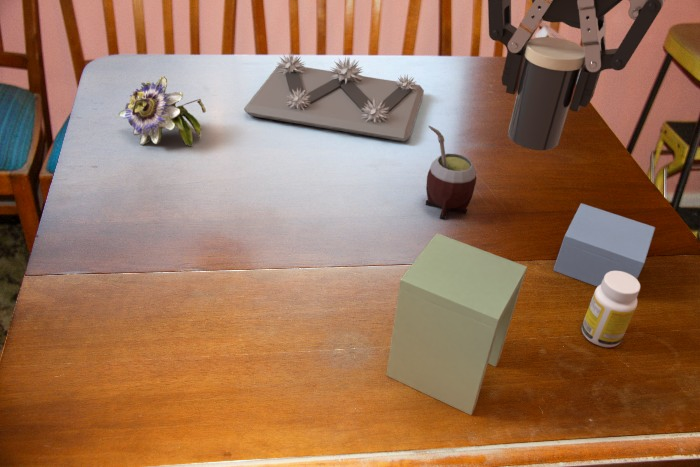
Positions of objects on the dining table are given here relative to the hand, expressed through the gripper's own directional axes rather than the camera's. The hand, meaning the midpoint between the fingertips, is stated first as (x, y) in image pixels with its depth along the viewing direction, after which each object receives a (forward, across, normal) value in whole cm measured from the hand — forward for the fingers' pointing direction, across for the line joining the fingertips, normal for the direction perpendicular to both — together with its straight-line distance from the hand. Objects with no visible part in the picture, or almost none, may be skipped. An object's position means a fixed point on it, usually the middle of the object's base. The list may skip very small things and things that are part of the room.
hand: (544, 98), depth 57 cm
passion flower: (+31, -62, +18) cm, 72 cm away
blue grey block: (+31, +9, +23) cm, 40 cm away
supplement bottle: (+31, +12, +10) cm, 35 cm away
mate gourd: (+31, -14, +24) cm, 42 cm away
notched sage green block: (+31, -2, -5) cm, 32 cm away
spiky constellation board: (+31, -44, +44) cm, 70 cm away
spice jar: (+4, 0, 0) cm, 4 cm away
